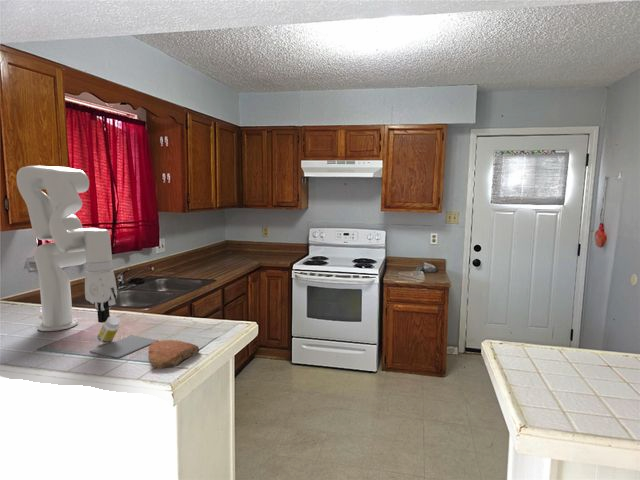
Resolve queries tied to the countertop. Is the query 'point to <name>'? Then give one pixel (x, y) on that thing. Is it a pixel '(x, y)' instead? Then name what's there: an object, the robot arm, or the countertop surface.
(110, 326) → the supplement bottle
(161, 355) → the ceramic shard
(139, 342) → the mat
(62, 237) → the robot arm
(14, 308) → the countertop surface
